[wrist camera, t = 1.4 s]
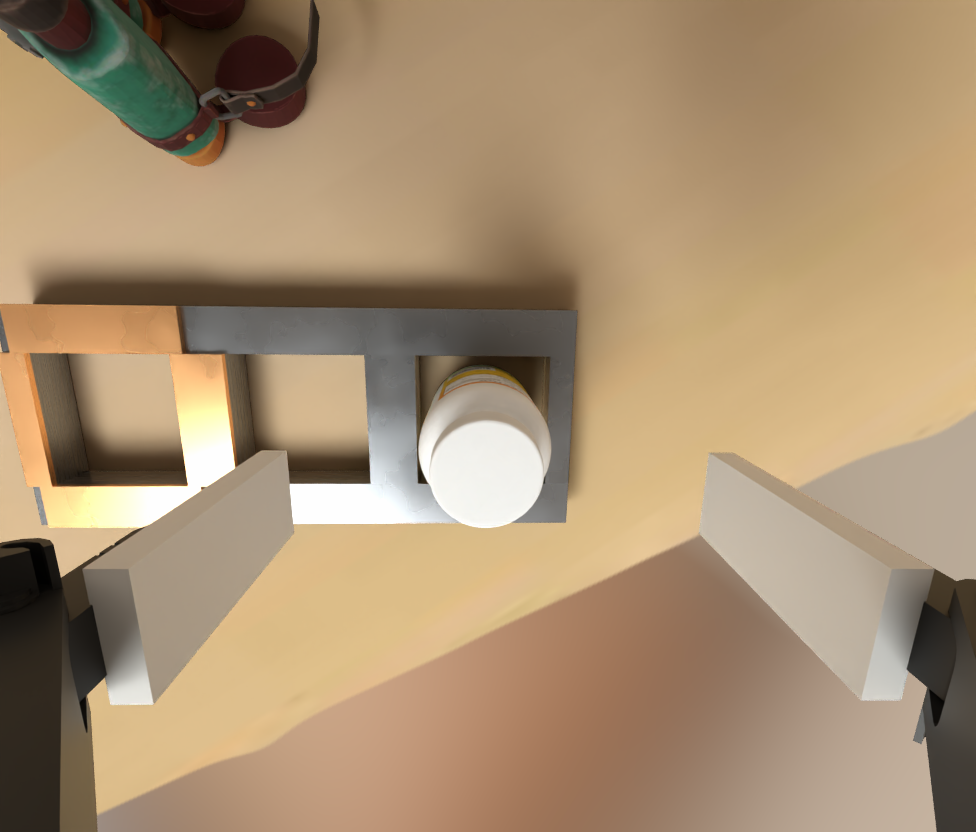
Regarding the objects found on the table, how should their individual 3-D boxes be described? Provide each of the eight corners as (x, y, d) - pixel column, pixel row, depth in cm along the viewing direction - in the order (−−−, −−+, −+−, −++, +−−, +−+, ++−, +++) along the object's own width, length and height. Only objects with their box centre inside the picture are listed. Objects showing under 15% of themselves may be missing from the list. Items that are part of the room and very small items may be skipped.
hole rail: (74, 508, 26) (36, 527, 24) (32, 304, 23) (-15, 303, 21) (559, 506, 27) (567, 524, 24) (568, 310, 24) (578, 310, 22)
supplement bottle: (491, 478, 26) (503, 575, 17) (412, 423, 25) (376, 493, 16) (550, 402, 25) (597, 459, 16) (470, 343, 24) (469, 365, 15)
